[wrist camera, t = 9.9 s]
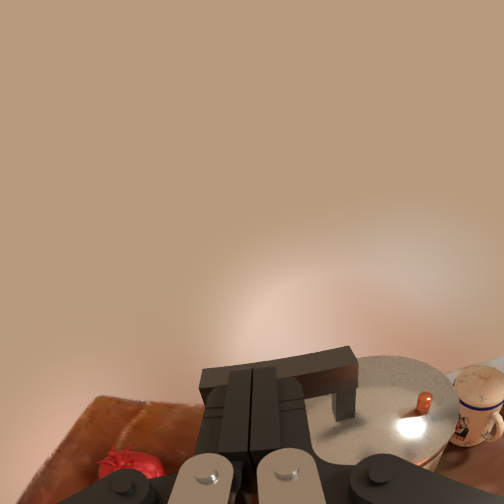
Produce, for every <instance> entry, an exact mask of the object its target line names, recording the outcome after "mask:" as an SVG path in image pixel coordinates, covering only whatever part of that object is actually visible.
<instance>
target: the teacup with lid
mask: <svg viewBox="0 0 504 504" xmlns="http://www.w3.org/2000/svg"><path fill="white" fill-rule="evenodd" d="M453 386H454V387H455V389H456V391H457V394H458V397H459V403H460V414H459V419H458V422H457V425H456V428H455V430H454V433H453V435H452V437H451V439H450V442H451V443H453V444H455V445H458V446H462V447H470V446H475V445H477V444H479V443H481V442H482V441H484V440H485V441H487V442H494V441H496V440H498V439H499V438H500V437H501V435H502V434H503V431H504V421H503V419H502V417H501V415H500V414H499V412H500V410H501V407H502V405H503V402H504V374H503V373H502V372H500V371H499V370H497V369H495V368H493V367H489V366H473V367H470V368H467V369H465V370H464V371H462V372H461V373H460V374H459V375H458V376H457V378H456V379H455V381H454V384H453ZM494 423H495V424H496V428H497V430H496V434H495V436H492V435H491V434H490V432H491V429H492V427H493V425H494Z"/></svg>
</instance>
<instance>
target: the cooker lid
mask: <svg viewBox="0 0 504 504" xmlns="http://www.w3.org/2000/svg"><path fill="white" fill-rule="evenodd" d="M274 364H276V367H277V372H278V378H279V379H283V378H290V377H294V378H295V379H296V380H297V381H298V382H299V383H300V384H301V385H302V388H303V394H304V400H305V406H306V412H307V418H308V425H309V431H310V437H311V443H312V448H313V450H314V452H315V453H316V454H317V456H319V457H320V458H321V459H323V460H324V461H327V462H329V463H333V464H342V465H356V464H357V463H359V462H360V461H361V460H363V459H364V458H366V457H368V456H371V455H374V454H382V453H386V454H392V455H396V456H398V457H400V458H402V459H405V460H407V461H409V462H411V463H413V464H416V465H418V466H420V467H424V466H425V465H427V464H429V463H430V462H431V461H432V460H434V459H435V458H436V457H437V456H438V455H439V454H440V453H441V452H442V451H443V450H444V449H445V447H446V446H447V444H448V443H449V441H450V439H451V437H452V435H453V433H454V430H455V428H456V425H457V422H458V419H459V414H460V403H459V397H458V394H457V391H456V389H455V387H454V386H453V384H452V383H451V382H450V380H449V379H448V378H447V377H446V376H445V375H444V374H443V373H441V372H440V371H439V370H437V369H435V368H434V367H432V366H430V365H428V364H426V363H424V362H421V361H418V360H414V359H410V358H406V357H399V356H370V357H363V358H357V359H356V357H355V355H354V354H353V352H352V350H351V348H350V347H349V346H344V347H340V348H335V349H330V350H326V351H321V352H316V353H310V354H305V355H300V356H294V357H288V358H282V359H276V360H271V361H263V362H256V363H249V364H242V365H234V366H225V367H217V368H207V369H203V370H202V375H201V380H200V384H199V390H200V393H201V396H202V399H203V402H204V405H206V401H207V396H208V395H209V394H210V392H211V391H212V390H213V389H214V387H215V386H217V385H228V378H229V372H230V370H231V369H241V368H250V367H252V368H253V369H254V367H258V366H266V365H274Z"/></svg>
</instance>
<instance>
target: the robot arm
mask: <svg viewBox="0 0 504 504" xmlns="http://www.w3.org/2000/svg"><path fill="white" fill-rule="evenodd" d="M252 494H258V495H259V504H504V497H501V496H498V495H494V494H491V493H488V492H485V491H482V490H479V489H476V488H473V487H470V486H468V485H465V484H462V483H460V482H457V481H454V480H452V479H449V478H447V477H444V476H442V475H439V474H437V473H434V472H432V471H429V470H427V469H425V468H422V467H420V466H418V465H416V464H413V463H411V462H409V461H407V460H405V459H402V458H400V457H398V456H396V455H392V454H386V453H382V454H374V455H371V456H368V457H366V458H364V459H363V460H361V461H360V462H359V463H357V464H356V465H342V464H333V463H329V462H327V461H324V460H323V459H321V458H320V457H319V456H317V454H316V453H315V452H314V450H313V448H312V443H311V437H310V431H309V425H308V418H307V412H306V406H305V400H304V394H303V388H302V385H301V384H300V383H299V382H298V381H297V380H296V379H295V378H294V377H290V378H283V379H279V378H278V372H277V367H276V364H274V365H266V366H258V367H254V369H253V368H252V367H250V368H241V369H231V370H230V372H229V378H228V385H217V386H215V387H214V389H213V390H212V391H211V392H210V394H209V395H208V396H207V401H206V405H205V410H204V414H203V419H202V423H201V428H200V432H199V437H198V441H197V446H196V450H195V454H194V457H192V458H190V459H188V460H187V461H186V462H185V463H184V464H183V465H182V466H181V468H180V470H179V472H177V473H174V474H171V475H166V476H161V477H155V478H149V479H148V478H147V477H146V476H145V475H144V474H143V473H142V472H140V471H138V470H136V469H131V468H124V469H119V470H116V471H114V472H112V473H110V474H109V475H107V476H105V477H104V478H102V479H100V480H99V481H97V482H95V483H94V484H92V485H90V486H88V487H87V488H85V489H83V490H81V491H80V492H78V493H76V494H74V495H72V496H71V497H69V498H67V499H65V500H63V501H61V502H59V503H57V504H252Z"/></svg>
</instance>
